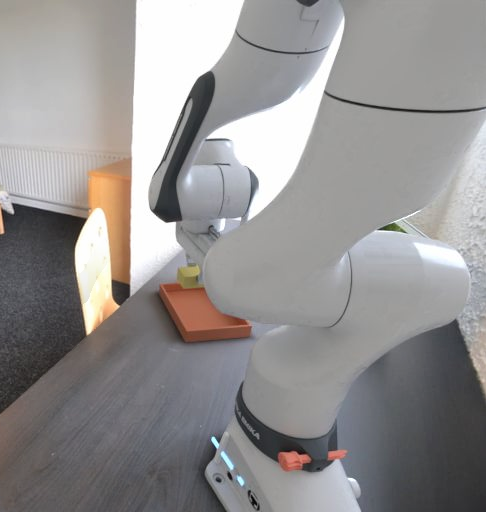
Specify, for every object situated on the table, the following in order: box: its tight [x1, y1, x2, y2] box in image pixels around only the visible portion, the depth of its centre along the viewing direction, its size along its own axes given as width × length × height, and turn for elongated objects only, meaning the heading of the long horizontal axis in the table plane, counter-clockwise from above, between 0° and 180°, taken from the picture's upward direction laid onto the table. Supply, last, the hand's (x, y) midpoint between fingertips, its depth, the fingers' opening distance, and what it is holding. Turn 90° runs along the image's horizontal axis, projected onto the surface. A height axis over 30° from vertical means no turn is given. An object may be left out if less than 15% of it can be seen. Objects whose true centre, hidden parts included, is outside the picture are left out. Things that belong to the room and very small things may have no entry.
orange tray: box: [158, 281, 253, 343], centre depth 92 cm, size 21×15×3 cm
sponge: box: [176, 266, 204, 289], centre depth 82 cm, size 7×4×3 cm, turn 96°
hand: (195, 276), depth 82 cm, fingers closed on sponge, 4 cm apart
